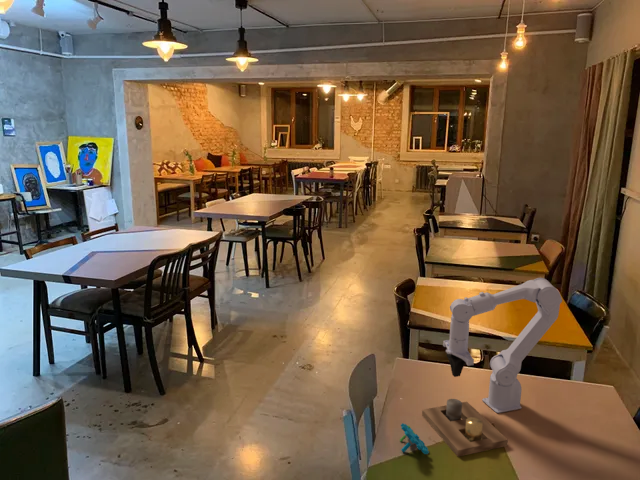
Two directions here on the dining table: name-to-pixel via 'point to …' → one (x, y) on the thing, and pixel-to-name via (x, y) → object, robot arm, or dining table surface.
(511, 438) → the dining table surface
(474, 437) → the brass sleeve
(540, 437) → the dining table surface
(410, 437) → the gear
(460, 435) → the walnut jig
